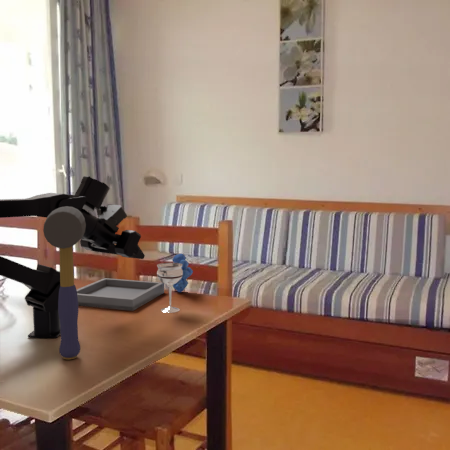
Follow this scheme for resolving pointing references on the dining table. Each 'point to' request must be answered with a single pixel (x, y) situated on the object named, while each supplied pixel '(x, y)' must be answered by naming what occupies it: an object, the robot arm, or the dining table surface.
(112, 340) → the dining table surface
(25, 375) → the dining table surface
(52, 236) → the rubber mallet
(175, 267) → the wineglass
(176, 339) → the dining table surface
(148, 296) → the tray
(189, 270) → the grapes
